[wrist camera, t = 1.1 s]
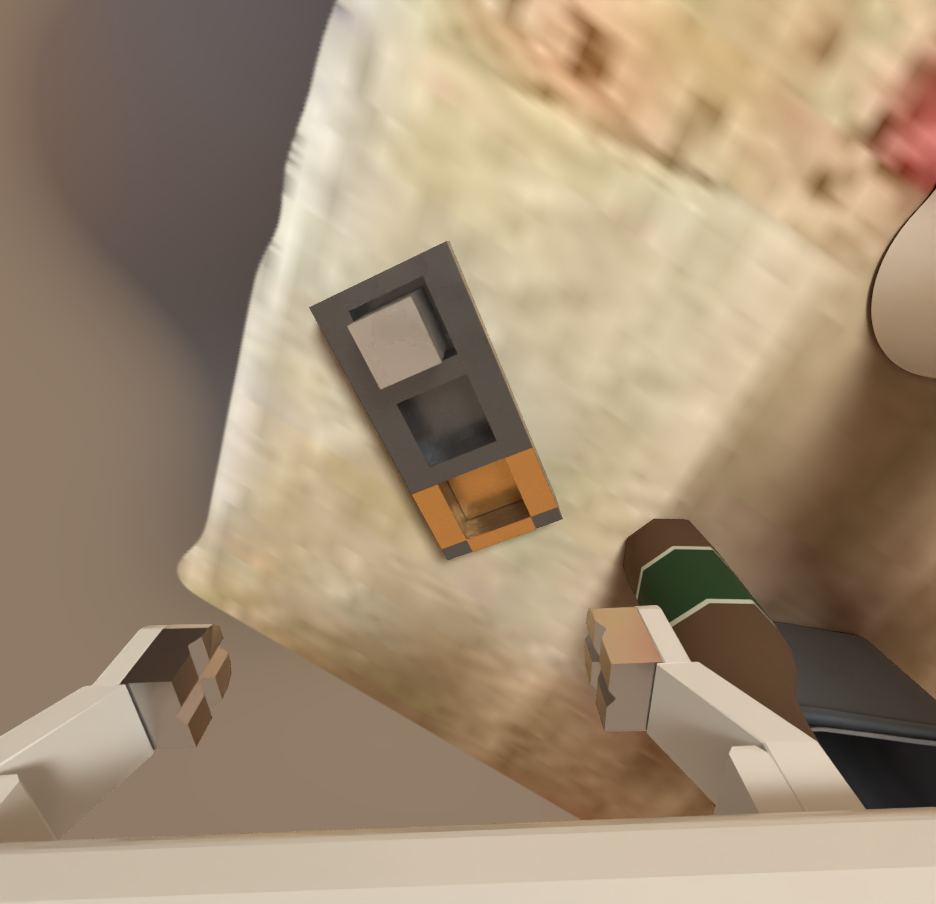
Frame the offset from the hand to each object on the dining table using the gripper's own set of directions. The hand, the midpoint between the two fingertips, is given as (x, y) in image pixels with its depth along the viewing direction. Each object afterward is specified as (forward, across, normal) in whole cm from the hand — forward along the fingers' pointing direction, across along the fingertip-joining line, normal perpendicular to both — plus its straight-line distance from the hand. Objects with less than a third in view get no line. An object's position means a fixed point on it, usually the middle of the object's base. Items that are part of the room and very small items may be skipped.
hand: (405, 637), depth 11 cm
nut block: (+28, +2, -3) cm, 28 cm away
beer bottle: (+28, -19, +18) cm, 38 cm away
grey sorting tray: (+28, 0, +4) cm, 29 cm away
